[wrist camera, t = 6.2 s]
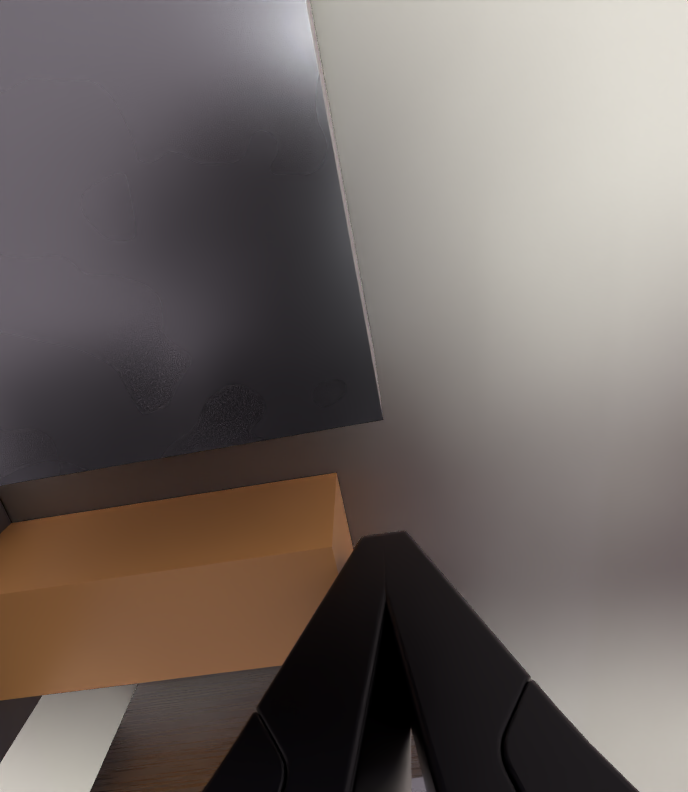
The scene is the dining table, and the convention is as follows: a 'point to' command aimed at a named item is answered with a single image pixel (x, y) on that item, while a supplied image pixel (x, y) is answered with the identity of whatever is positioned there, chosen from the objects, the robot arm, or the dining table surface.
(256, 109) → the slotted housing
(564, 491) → the dining table surface
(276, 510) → the plug
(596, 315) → the dining table surface
